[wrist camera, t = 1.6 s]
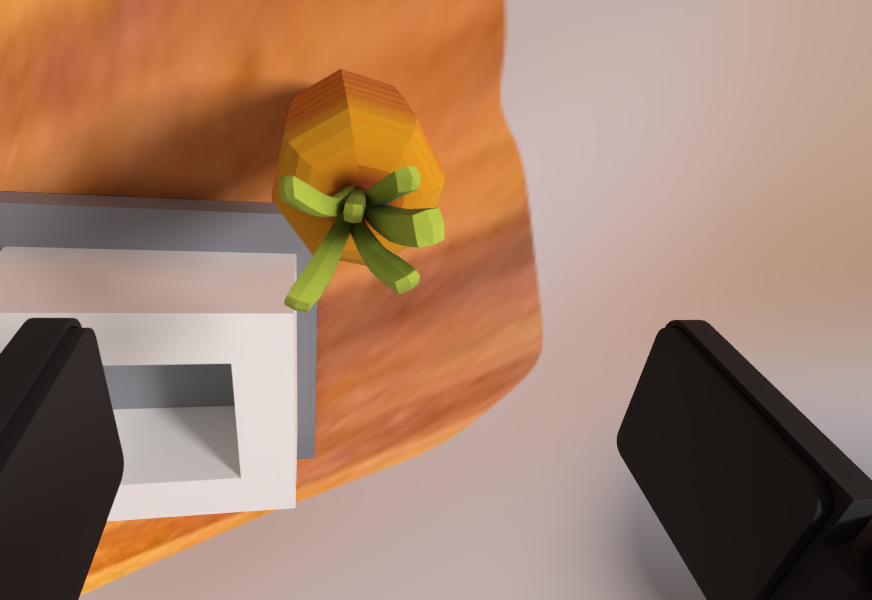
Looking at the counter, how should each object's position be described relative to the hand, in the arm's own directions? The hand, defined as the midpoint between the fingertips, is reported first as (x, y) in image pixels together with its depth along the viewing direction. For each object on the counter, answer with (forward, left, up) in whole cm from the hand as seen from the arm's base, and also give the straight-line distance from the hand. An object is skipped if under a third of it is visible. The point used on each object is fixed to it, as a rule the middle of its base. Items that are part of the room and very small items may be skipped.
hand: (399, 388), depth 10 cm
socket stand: (+13, -8, -18) cm, 23 cm away
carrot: (0, 0, -18) cm, 18 cm away
